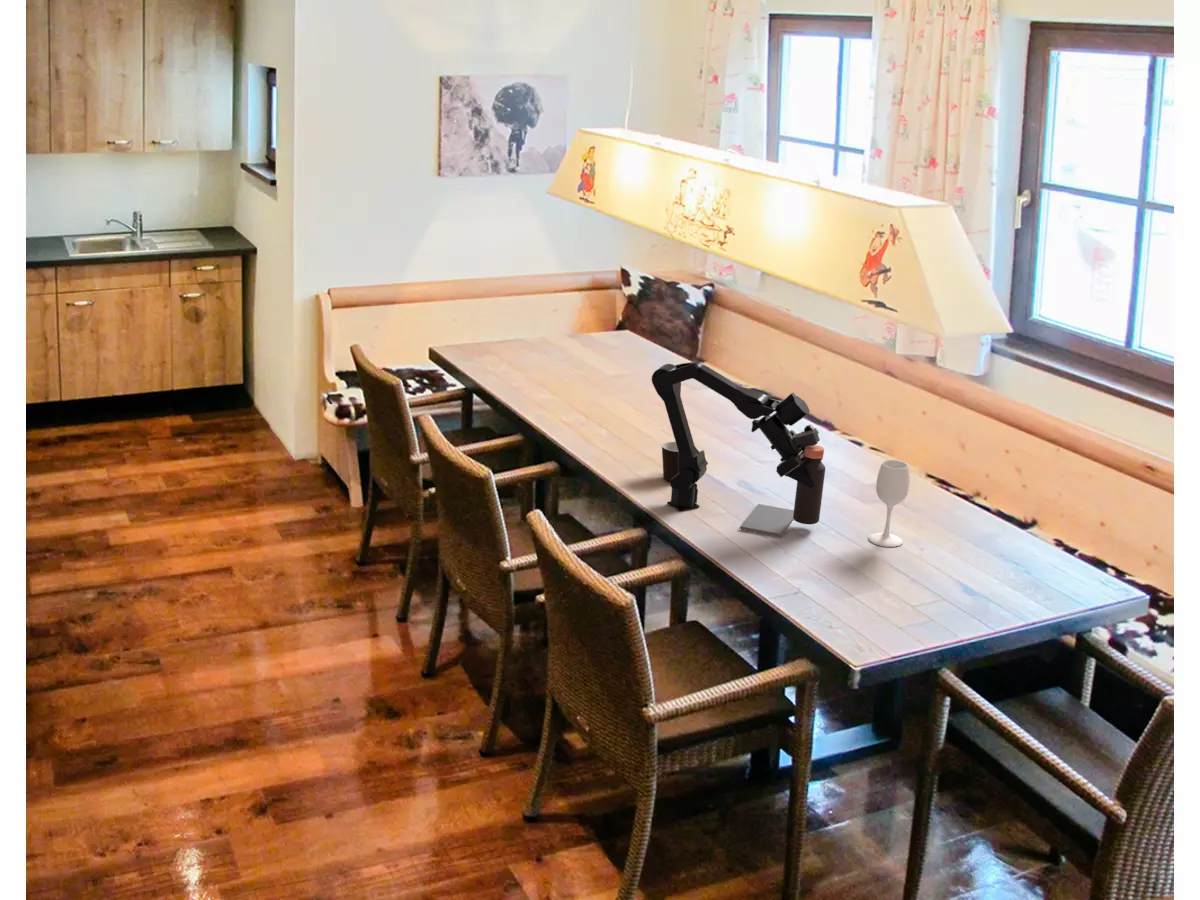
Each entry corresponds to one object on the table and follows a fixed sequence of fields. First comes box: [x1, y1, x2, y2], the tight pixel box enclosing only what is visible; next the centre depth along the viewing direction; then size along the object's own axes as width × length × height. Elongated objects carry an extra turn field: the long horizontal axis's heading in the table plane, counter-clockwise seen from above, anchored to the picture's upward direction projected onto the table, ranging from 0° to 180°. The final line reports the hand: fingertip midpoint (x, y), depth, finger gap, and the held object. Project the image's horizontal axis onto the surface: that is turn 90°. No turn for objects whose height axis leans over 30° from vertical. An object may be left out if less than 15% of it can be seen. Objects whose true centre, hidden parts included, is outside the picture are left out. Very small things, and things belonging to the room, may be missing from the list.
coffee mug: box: [661, 441, 679, 484], centre depth 370 cm, size 12×9×10 cm
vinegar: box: [793, 444, 826, 525], centre depth 336 cm, size 7×7×20 cm
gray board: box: [739, 503, 795, 538], centre depth 343 cm, size 11×18×1 cm, turn 159°
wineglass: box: [868, 459, 911, 548], centre depth 332 cm, size 9×9×21 cm
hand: (815, 483), depth 335 cm, fingers closed on vinegar, 6 cm apart
